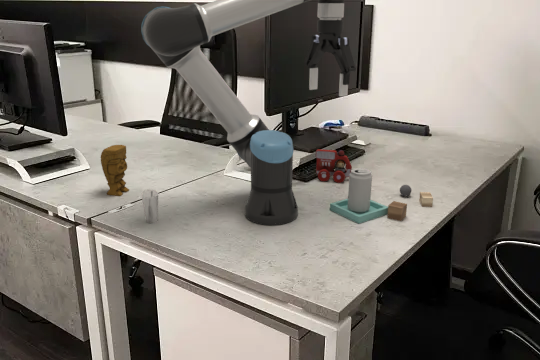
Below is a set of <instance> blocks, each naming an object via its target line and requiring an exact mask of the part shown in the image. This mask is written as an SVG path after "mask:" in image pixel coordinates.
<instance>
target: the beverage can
mask: <svg viewBox="0 0 540 360" xmlns="http://www.w3.org/2000/svg"><path fill="white" fill-rule="evenodd" d="M348 178H349V179H348V194H347V199H348V209H350V211H352V212H355V213H365V212H367V211H368V210H369V209H370V200H371V196H372V184H373V183H372V181H373V175H372V171H371V170H370V169H368V168H363V167H358V168H357V167H356V168H355V167H354V168H352V170H351V173H350V175H349V177H348Z"/></svg>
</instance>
